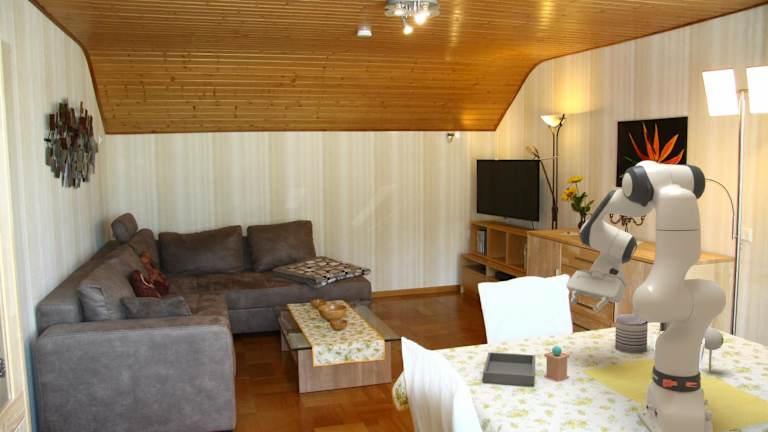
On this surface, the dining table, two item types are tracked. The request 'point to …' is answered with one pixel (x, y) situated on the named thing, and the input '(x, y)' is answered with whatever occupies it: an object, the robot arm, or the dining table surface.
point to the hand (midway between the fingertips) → (584, 306)
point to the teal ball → (556, 350)
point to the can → (631, 334)
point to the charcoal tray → (509, 369)
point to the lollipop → (712, 342)
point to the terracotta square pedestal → (556, 366)
